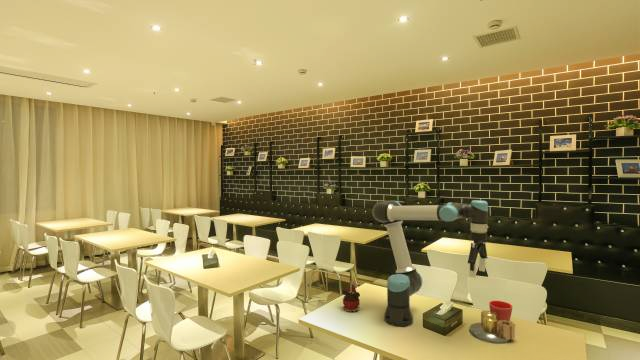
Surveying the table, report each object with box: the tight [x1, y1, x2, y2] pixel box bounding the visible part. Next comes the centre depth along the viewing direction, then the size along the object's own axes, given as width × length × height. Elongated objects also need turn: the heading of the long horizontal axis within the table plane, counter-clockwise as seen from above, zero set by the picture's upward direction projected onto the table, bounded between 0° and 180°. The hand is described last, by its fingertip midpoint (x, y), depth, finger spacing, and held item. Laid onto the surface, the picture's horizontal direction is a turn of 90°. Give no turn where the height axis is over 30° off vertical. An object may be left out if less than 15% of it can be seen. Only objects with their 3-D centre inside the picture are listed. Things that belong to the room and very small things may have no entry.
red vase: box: [342, 278, 361, 312], centre depth 193 cm, size 11×9×18 cm
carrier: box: [469, 309, 512, 344], centre depth 163 cm, size 18×20×8 cm
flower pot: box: [488, 300, 513, 322], centre depth 174 cm, size 11×11×10 cm
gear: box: [497, 320, 516, 340], centre depth 157 cm, size 7×7×6 cm
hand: (477, 274), depth 165 cm, fingers open, 13 cm apart
